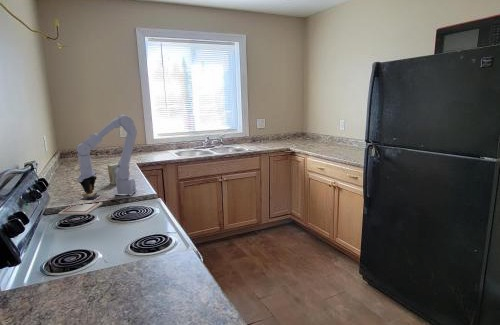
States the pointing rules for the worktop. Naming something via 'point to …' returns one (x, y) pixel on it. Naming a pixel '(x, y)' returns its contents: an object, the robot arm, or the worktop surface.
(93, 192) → the stamp
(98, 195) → the ink pad
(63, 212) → the marked board
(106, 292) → the worktop surface
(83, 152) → the robot arm
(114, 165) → the skincare box
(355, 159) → the worktop surface
